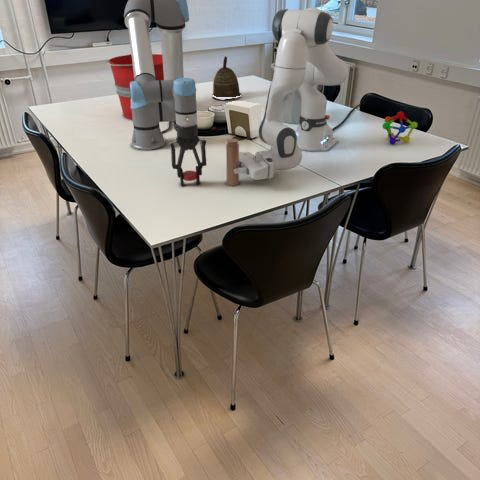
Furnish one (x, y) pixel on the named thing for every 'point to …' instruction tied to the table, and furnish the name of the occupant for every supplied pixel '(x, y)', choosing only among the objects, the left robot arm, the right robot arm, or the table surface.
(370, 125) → the table surface
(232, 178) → the jar
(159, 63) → the bucket
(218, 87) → the bell
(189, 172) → the lid
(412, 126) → the educational toy
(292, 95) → the bucket
